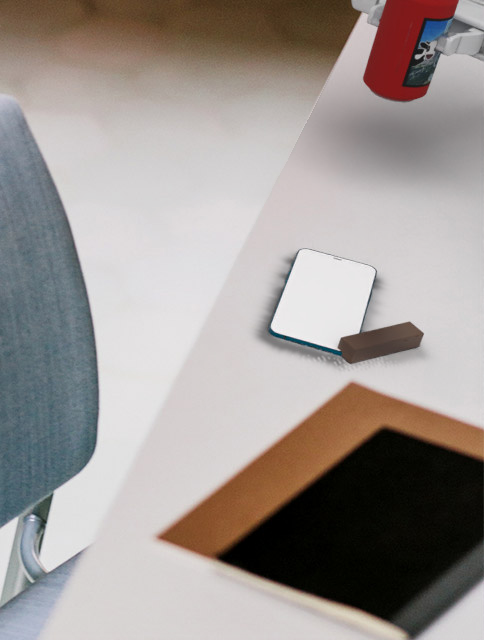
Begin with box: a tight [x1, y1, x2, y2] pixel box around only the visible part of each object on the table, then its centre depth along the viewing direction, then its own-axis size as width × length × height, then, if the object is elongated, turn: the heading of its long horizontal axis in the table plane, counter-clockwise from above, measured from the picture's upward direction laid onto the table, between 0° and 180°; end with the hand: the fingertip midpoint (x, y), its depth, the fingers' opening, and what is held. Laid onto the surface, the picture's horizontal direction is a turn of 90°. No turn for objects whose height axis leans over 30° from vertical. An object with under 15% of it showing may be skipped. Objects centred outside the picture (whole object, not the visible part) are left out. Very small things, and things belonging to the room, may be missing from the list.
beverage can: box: [362, 0, 459, 103], centre depth 120 cm, size 7×7×12 cm
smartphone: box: [267, 247, 378, 357], centre depth 111 cm, size 8×1×16 cm
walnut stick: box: [337, 321, 425, 364], centre depth 105 cm, size 8×2×2 cm, turn 117°
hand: (408, 31), depth 119 cm, fingers closed on beverage can, 6 cm apart
